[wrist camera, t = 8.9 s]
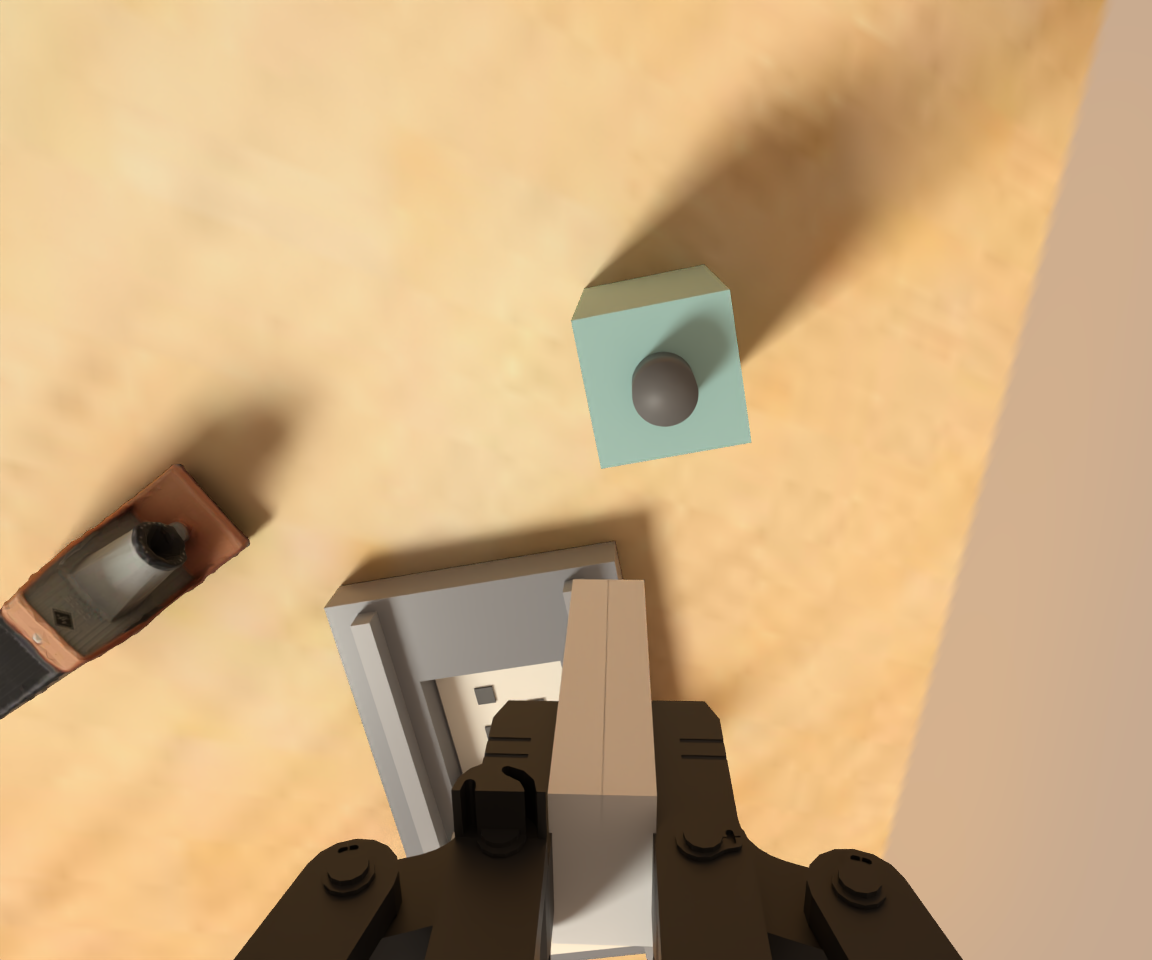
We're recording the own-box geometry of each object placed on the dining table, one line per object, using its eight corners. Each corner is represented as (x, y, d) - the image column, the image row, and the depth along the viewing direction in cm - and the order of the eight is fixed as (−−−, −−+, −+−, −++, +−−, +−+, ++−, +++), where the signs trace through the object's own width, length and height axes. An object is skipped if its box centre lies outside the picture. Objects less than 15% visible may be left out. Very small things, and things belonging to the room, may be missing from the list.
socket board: (339, 586, 36) (315, 619, 33) (615, 540, 35) (614, 572, 32) (453, 939, 42) (441, 993, 39) (690, 913, 41) (695, 967, 38)
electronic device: (263, 533, 35) (170, 621, 28) (113, 648, 38) (-7, 754, 31) (189, 452, 34) (74, 522, 27) (40, 575, 37) (-102, 668, 30)
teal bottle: (584, 288, 31) (567, 329, 22) (704, 264, 31) (736, 296, 22) (606, 403, 33) (599, 485, 24) (722, 382, 32) (759, 457, 23)
